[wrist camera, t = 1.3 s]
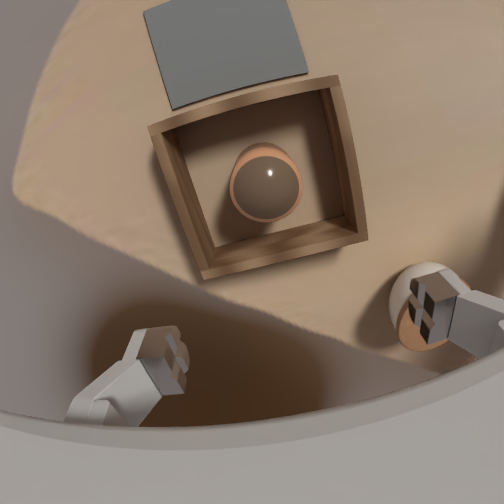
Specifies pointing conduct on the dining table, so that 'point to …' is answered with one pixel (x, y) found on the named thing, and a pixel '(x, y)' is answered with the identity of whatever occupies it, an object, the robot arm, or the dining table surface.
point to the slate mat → (222, 45)
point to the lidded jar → (399, 306)
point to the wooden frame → (278, 243)
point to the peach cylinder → (265, 183)
